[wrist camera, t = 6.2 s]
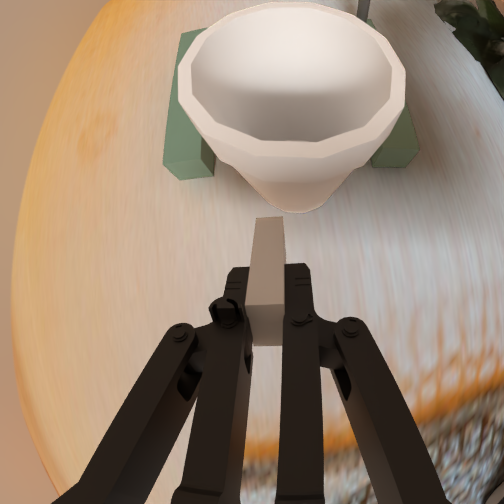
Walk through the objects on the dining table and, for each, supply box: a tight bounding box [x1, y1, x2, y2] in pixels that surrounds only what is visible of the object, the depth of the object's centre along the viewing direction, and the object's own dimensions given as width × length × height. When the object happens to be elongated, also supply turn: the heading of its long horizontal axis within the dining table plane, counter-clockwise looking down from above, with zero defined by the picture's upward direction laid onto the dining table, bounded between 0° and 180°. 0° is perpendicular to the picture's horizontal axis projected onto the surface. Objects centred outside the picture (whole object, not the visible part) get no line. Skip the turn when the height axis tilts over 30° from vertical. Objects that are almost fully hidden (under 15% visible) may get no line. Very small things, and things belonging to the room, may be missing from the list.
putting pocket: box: [163, 0, 420, 180], centre depth 14 cm, size 16×22×18 cm
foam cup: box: [178, 2, 406, 213], centre depth 16 cm, size 10×9×13 cm
